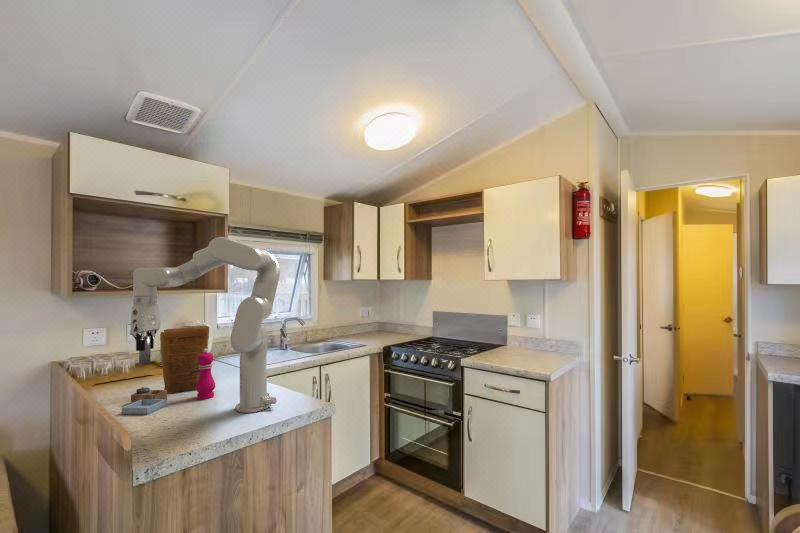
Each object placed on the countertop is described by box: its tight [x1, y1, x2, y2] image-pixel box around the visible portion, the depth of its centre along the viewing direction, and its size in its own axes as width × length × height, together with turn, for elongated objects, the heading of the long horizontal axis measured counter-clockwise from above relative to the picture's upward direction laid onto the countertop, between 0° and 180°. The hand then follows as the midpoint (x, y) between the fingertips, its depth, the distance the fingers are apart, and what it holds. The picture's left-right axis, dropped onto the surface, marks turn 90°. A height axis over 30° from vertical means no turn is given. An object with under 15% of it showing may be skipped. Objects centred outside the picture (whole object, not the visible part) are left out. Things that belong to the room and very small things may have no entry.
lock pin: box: [138, 335, 152, 365], centre depth 147 cm, size 4×4×10 cm
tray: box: [121, 398, 168, 416], centre depth 146 cm, size 10×10×2 cm
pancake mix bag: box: [159, 325, 210, 394], centre depth 171 cm, size 7×19×28 cm, turn 120°
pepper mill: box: [195, 349, 216, 400], centre depth 161 cm, size 7×7×20 cm
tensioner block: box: [130, 386, 168, 404], centre depth 155 cm, size 10×7×6 cm
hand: (144, 349), depth 147 cm, fingers closed on lock pin, 3 cm apart
